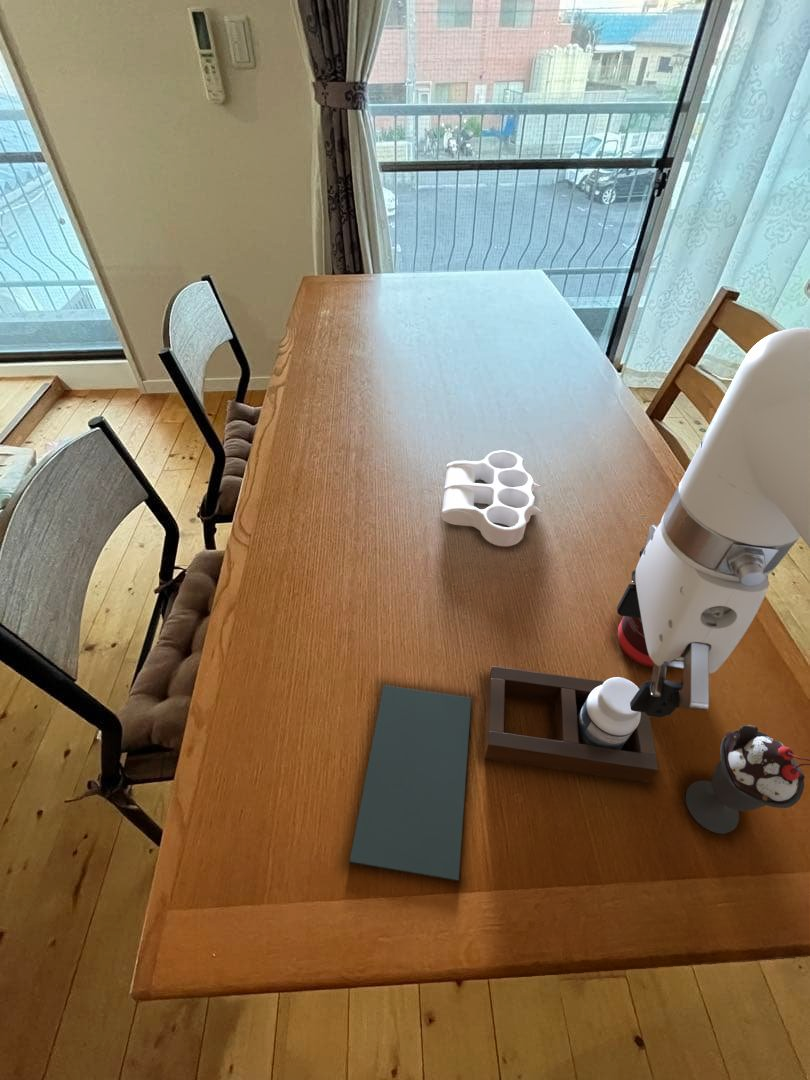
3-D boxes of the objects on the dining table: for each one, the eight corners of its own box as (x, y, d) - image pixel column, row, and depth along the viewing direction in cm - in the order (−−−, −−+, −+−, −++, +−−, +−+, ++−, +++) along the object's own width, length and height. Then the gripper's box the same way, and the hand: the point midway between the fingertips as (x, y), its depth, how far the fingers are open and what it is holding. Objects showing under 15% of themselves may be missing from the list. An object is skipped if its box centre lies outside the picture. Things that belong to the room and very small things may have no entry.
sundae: (751, 854, 52) (847, 798, 41) (676, 828, 53) (749, 768, 42) (746, 785, 56) (831, 718, 45) (676, 763, 58) (743, 693, 47)
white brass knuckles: (447, 462, 91) (537, 470, 90) (439, 540, 79) (542, 550, 78) (449, 445, 89) (541, 453, 88) (440, 523, 76) (547, 534, 75)
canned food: (688, 634, 69) (728, 577, 61) (670, 682, 64) (710, 627, 56) (628, 605, 72) (658, 548, 64) (606, 649, 67) (635, 593, 59)
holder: (646, 783, 56) (658, 770, 54) (484, 758, 58) (488, 744, 55) (634, 702, 62) (644, 686, 60) (487, 681, 64) (491, 665, 61)
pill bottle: (584, 702, 62) (606, 660, 56) (629, 728, 60) (658, 688, 54) (564, 740, 59) (586, 700, 53) (612, 768, 57) (640, 731, 51)
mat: (458, 881, 50) (458, 880, 50) (349, 862, 51) (349, 861, 50) (471, 699, 62) (471, 697, 62) (383, 686, 63) (383, 684, 63)
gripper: (836, 643, 30) (705, 762, 43) (750, 449, 42) (667, 588, 55) (695, 624, 31) (607, 747, 44) (649, 439, 43) (589, 578, 55)
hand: (640, 659), depth 49 cm, fingers open, 9 cm apart
